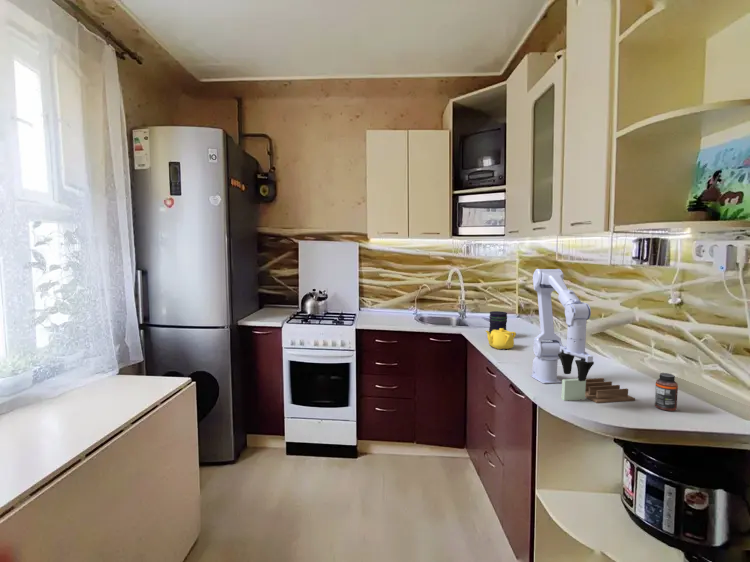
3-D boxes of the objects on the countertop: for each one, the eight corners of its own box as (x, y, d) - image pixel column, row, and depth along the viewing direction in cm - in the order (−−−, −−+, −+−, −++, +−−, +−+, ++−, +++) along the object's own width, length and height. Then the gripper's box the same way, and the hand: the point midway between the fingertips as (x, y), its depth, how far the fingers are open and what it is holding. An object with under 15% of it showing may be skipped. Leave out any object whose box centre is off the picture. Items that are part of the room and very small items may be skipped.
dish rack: (567, 388, 152) (568, 378, 152) (603, 385, 155) (603, 376, 155) (596, 403, 138) (597, 392, 137) (634, 400, 140) (635, 390, 140)
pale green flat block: (561, 399, 141) (562, 379, 140) (581, 397, 142) (582, 378, 142) (564, 400, 139) (565, 380, 139) (584, 399, 141) (586, 379, 140)
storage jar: (507, 340, 231) (508, 314, 230) (490, 339, 232) (491, 313, 231) (504, 336, 241) (505, 311, 240) (487, 335, 242) (488, 311, 241)
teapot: (508, 352, 204) (509, 332, 203) (483, 348, 211) (484, 329, 210) (516, 347, 215) (517, 328, 214) (492, 343, 222) (493, 325, 222)
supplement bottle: (667, 404, 137) (669, 371, 136) (681, 411, 131) (683, 377, 130) (649, 404, 137) (652, 371, 136) (663, 411, 131) (665, 377, 130)
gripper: (552, 334, 146) (551, 371, 147) (580, 343, 131) (578, 384, 132) (570, 333, 147) (568, 370, 148) (599, 342, 133) (597, 383, 134)
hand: (574, 377), depth 140 cm, fingers open, 7 cm apart
